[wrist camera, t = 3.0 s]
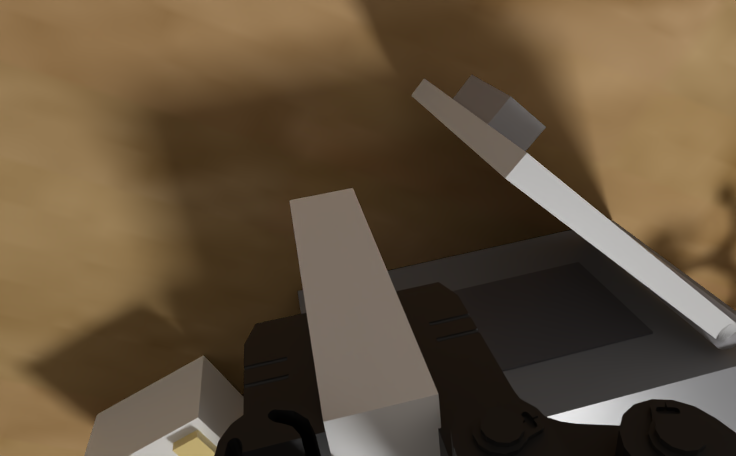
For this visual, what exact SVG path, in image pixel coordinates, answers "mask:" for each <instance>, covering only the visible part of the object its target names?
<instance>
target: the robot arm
mask: <svg viewBox="0 0 736 456" xmlns="http://www.w3.org/2000/svg"><path fill="white" fill-rule="evenodd" d="M289 201H290V208H291V214H292V221H293V227H294V234H295V240H296V247H297V253H298V260H299V266H300V273H301V280H302V286H303V293H304V299H305V306H306V312H307V313H303V314H298V315H294V316H289V317H285V318H280V319H276V320H271V321H267V322H262V323H257V324H255V326H254V328H253V330H252V332H251V333H250V335H249V337H248V339H247V341H246V342H245V344H244V369H245V371H244V403H243V415H242V416H241V417H240V418H238V419H237V420H236V421H234V422H233V423H232V424H231V425H230V426H229V427H228V429H227V430H226V431H225V433H224V434H223V436H222V437H221V438H220V440H219V441H218V445H217V448H216V451H215V455H214V456H736V433H735V432H734V431H733V430H731V429H730V428H729V427H727V426H726V425H725V424H723V423H722V422H721V421H719V420H718V419H716V418H715V417H713V416H711V415H709V414H708V413H706V412H704V411H702V410H701V409H699V408H697V407H695V406H692V405H689V404H685V403H682V402H678V401H675V400H663V399H650V400H647V401H643V402H640V403H637V404H634V405H633V406H632V407H631V408H630V409H628V410H627V411H626V412H625V413H624V414H623V416H622V420H621V424H620V425H596V424H576V423H568V422H561V421H558V420H555V419H552V418H549V417H546V416H544V415H543V414H542V413H541V412H540V411H539V410H538V408H536V407H534V406H533V405H531V404H529V403H527V402H525V401H524V400H522V399H520V398H519V397H518V395H517V394H516V393H515V391H514V390H513V388H512V387H511V385H510V383H509V381H508V380H507V378H506V376H505V375H504V373H503V371H502V369H501V368H500V366H499V364H498V363H497V361H496V359H495V357H494V356H493V354H492V352H491V351H490V349H489V347H488V346H487V344H486V342H485V340H484V339H483V337H482V335H481V334H480V333H479V332H478V328H477V327H476V325H475V323H474V322H473V320H472V318H471V317H469V313H468V311H467V310H466V308H465V306H464V305H463V303H462V301H461V299H460V298H459V296H458V295H457V294H455V293H454V292H453V291H451V290H450V289H448V288H447V287H445V286H444V285H442V284H441V283H439V282H436V283H432V284H427V285H422V286H418V287H413V288H409V289H404V290H400V291H395V288H394V286H393V283H392V281H391V279H390V276H389V274H388V271H387V269H386V267H385V264H384V262H383V259H382V257H381V255H380V252H379V250H378V247H377V245H376V243H375V240H374V238H373V235H372V233H371V230H370V228H369V226H368V223H367V221H366V218H365V216H364V214H363V211H362V209H361V206H360V204H359V202H358V199H357V197H356V194H355V192H354V190H353V188H350V189H345V190H340V191H335V192H329V193H324V194H319V195H314V196H309V197H304V198H299V199H294V200H289Z"/></svg>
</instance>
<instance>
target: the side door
mask: <svg viewBox="0 0 736 456" xmlns="http://www.w3.org/2000/svg"><path fill="white" fill-rule="evenodd" d="M411 96H412V97H413V98H415V99H416V100H417V101H418V102H419V103H420V104H421V105H422V106H424V107H425V108H426V109H427V110H428V111H429V112H430V113H432V114H433V115H434V116H435V117H436V118H437V119H438V120H439V121H441V122H442V123H443V124H444V125H445V126H446V127H447V128H449V129H450V130H451V131H452V132H453V133H454V134H455V135H456V136H458V137H459V138H460V139H461V140H462V141H463V142H464V143H466V144H467V145H468V146H469V147H470V148H471V149H472V150H474V151H475V152H476V153H477V154H478V155H479V156H480V157H481V158H483V159H484V160H485V161H486V162H487V163H488V164H489V165H491V166H492V167H493V168H494V169H495V170H496V171H497V172H498V173H500V174H501V175H502V176H503V177H504V178H505V179H507V180H508V181H509V182H511V183H512V184H513V185H514V186H516V187H517V188H518V189H520V190H521V191H522V192H524V193H525V194H526V195H528V196H529V197H530V198H532V199H533V200H534V201H535V202H537V203H538V204H539V205H541V206H542V207H543V208H545V209H546V210H547V211H549V212H550V213H551V214H553V215H554V216H555V217H556V218H558V219H559V220H560V221H562V222H563V223H564V224H566V225H567V226H568V227H570V228H571V229H572V230H574V231H575V232H576V233H577V234H579V235H580V236H581V237H583V238H584V239H585V240H587V241H588V242H589V243H591V244H592V245H593V246H595V247H596V248H597V249H598V250H600V251H601V252H602V253H604V254H605V255H606V256H608V257H609V258H610V259H612V260H613V261H614V262H616V263H617V264H618V265H619V266H621V267H622V268H623V269H625V270H626V271H627V272H628V273H629V274H631V275H632V276H633V277H634V278H635V279H637V280H638V281H639V282H640V283H641V284H643V285H644V286H645V287H646V288H647V289H648V290H650V291H651V292H652V293H653V294H654V295H656V296H657V297H658V298H659V299H660V300H661V301H663V302H664V303H665V304H666V305H667V306H669V307H670V308H671V309H672V310H673V311H675V312H676V313H677V314H678V315H679V316H680V317H682V318H683V319H684V320H685V321H686V322H688V323H689V324H690V325H691V326H692V327H693V328H695V329H696V330H697V331H698V332H699V333H701V334H702V335H703V336H704V337H705V338H706V339H708V340H709V341H710V342H711V343H712V344H714V345H715V346H716V347H717V348H719V349H721V350H726V349H730V348H732V347H734V346H736V315H735V314H733V313H732V312H731V311H729V310H728V309H727V308H725V307H724V306H723V305H721V304H720V303H719V302H717V301H716V300H715V299H713V298H712V297H711V296H709V295H708V294H707V293H705V292H704V291H703V290H701V289H700V288H699V287H697V286H696V285H694V284H693V283H692V282H690V281H689V280H688V279H686V278H685V277H684V276H682V275H681V274H680V273H678V272H677V271H676V270H674V269H673V268H672V267H670V266H669V265H668V264H666V263H665V262H664V261H662V260H661V259H660V258H658V257H657V256H656V255H654V254H653V253H652V252H650V251H649V250H648V249H646V248H645V247H644V246H642V245H641V244H640V243H638V242H637V241H636V240H634V239H633V238H632V237H630V236H629V235H628V234H626V233H625V232H624V231H622V230H621V229H620V228H619V227H617V226H616V225H615V224H614V223H613V222H611V221H610V220H609V219H608V218H606V217H605V216H604V215H603V214H602V213H600V212H599V211H598V210H597V209H595V208H594V207H593V206H592V205H590V204H589V203H588V202H587V201H586V200H584V199H583V198H582V197H581V196H579V195H578V194H577V193H576V192H574V191H573V190H572V189H571V188H570V187H568V186H567V185H566V184H565V183H563V182H562V181H561V180H560V179H559V178H557V177H556V176H555V175H554V174H552V173H551V172H550V171H549V170H547V169H546V168H545V167H544V166H543V165H541V164H540V163H539V162H538V161H536V160H535V159H534V158H533V157H532V156H530V155H529V154H528V153H527V152H525V151H526V150H527V149H528V148H529V147H530V145H531V144H532V143H533V142H534V141H535V140H536V138H537V137H538V136H539V135H540V134H541V132H542V131H543V130H544V129H545V128H546V127H545V126H544V125H543V124H542V123H541V122H540V121H538V120H537V119H536V118H535V117H534V116H533V115H532V114H530V113H529V112H528V111H527V110H526V109H525V108H523V107H522V106H521V105H520V104H519V103H518V102H517V101H515V100H514V99H513V98H512V97H511V96H509V95H507V94H505V93H504V92H502V91H500V90H498V89H496V88H495V87H493V86H491V85H489V84H488V83H486V82H484V81H482V80H480V79H479V78H477V77H475V76H473V75H471V76H470V77H469V78H468V80H467V81H466V82H465V84H464V85H463V86H462V87H461V89H460V90H459V91H458V93H457V94H456V95H455V96H454V98H453V99H452V98H451V97H449V96H448V95H447V94H445V93H444V92H442V91H441V90H440V89H438V88H437V87H435V86H434V85H433V84H431V83H430V82H429V81H427V80H426V79H423V80H422V82H421V83H420V84H419V86H418V87H417V88H416V90H415V91H414V92H413V94H412V95H411Z"/></svg>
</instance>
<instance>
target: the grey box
mask: <svg viewBox="0 0 736 456" xmlns="http://www.w3.org/2000/svg"><path fill="white" fill-rule="evenodd" d="M611 222H613V223H614V224H615V225H616V226H617V227H619V228H620V229H621V230H622V231H624V232H625V233H626V234H628V235H629V236H630V237H632V238H633V239H634V240H636V241H637V242H638V243H640V244H641V245H642V246H644V247H645V248H646V249H648V250H649V251H650V252H652V253H653V254H654V255H656V256H657V257H658V258H660V259H661V260H662V261H664V262H665V263H666V264H668V265H669V266H670V267H672V268H673V269H674V270H676V271H677V272H678V273H680V274H681V275H682V276H684V277H685V278H686V279H688V280H689V281H690V282H692V283H693V284H694V285H696V286H697V287H699V288H700V289H701V290H703V291H704V292H705V293H707V294H708V295H709V296H711V297H712V298H713V299H715V300H716V301H717V302H719V303H720V304H721V305H723V306H724V307H725V308H727V309H728V310H729V311H731V312H732V313H733V314H735V315H736V311H735V310H733V309H732V308H731V307H729V306H728V305H727V304H725V303H724V302H723V301H721V300H720V299H718V298H717V297H716V296H714V295H713V294H712V293H710V292H709V291H708V290H706V289H705V288H704V287H702V286H701V285H700V284H698V283H697V282H695V281H694V280H693V279H691V278H690V277H689V276H687V275H686V274H685V273H683V272H682V271H681V270H679V269H678V268H677V267H675V266H674V265H672V264H671V263H670V262H668V261H667V260H666V259H664V258H663V257H662V256H660V255H659V254H658V253H656V252H655V251H654V250H652V249H651V248H649V247H648V246H647V245H645V244H644V243H643V242H641V241H640V240H639V239H637V238H636V237H635V236H633V235H632V234H631V233H629V232H628V231H626V230H625V229H624V228H622V227H621V226H620V225H618V224H617V223H616V222H614V221H611ZM388 274H389V276H390V279H391V281H392V283H393V286H394V288H395V291H400V290H404V289H409V288H413V287H418V286H422V285H427V284H432V283H436V282H439V283H441V284H442V285H444V286H445V287H447V288H448V289H450V290H451V291H453V292H454V293H455V294H457V295H458V296H459V298H460V299H461V301H462V303H463V305H464V306H465V308H466V310H467V311H468V313H469V317H471V318H472V320H473V322H474V323H475V325H476V327H477V328H478V332H479V333H480V334H481V335H482V337H483V339H484V340H485V342H486V344H487V346H488V347H489V349H490V351H491V352H492V354H493V356H494V357H495V359H496V361H497V363H498V364H499V366H500V368H501V369H502V371H503V373H504V375H505V376H506V378H507V380H508V381H509V383H510V385H511V387H512V388H513V390H514V391H515V393H516V394H517V395H518V397H519V398H520V399H522V400H524V401H525V402H527V403H529V404H531V405H533V406H534V407H536V408H538V410H539V411H540V412H541V413H542V414H543V415H544V416H546V417H549V418H552V419H555V420H558V421H561V422H568V423H576V424H596V425H620V424H621V420H622V416H623V414H624V413H625V412H626V411H627V410H628V409H630V408H631V407H632V406H633V405H634V404H637V403H640V402H643V401H647V400H650V399H663V400H675V401H678V402H682V403H685V404H689V405H692V406H695V407H697V408H699V409H701V410H702V411H704V412H706V413H708V414H709V415H711V416H713V417H715V418H716V419H718V420H719V421H721V422H722V423H723V424H725V425H726V426H727V427H729V428H730V429H731V430H733V431H734V432H735V433H736V346H734V347H732V348H730V349H726V350H721V349H719V348H717V347H716V346H715V345H714V344H712V343H711V342H710V341H709V340H708V339H706V338H705V337H704V336H703V335H702V334H701V333H699V332H698V331H697V330H696V329H695V328H693V327H692V326H691V325H690V324H689V323H688V322H686V321H685V320H684V319H683V318H682V317H680V316H679V315H678V314H677V313H676V312H675V311H673V310H672V309H671V308H670V307H669V306H667V305H666V304H665V303H664V302H663V301H661V300H660V299H659V298H658V297H657V296H656V295H654V294H653V293H652V292H651V291H650V290H648V289H647V288H646V287H645V286H644V285H643V284H641V283H640V282H639V281H638V280H637V279H635V278H634V277H633V276H632V275H631V274H629V273H628V272H627V271H626V270H625V269H623V268H622V267H621V266H619V265H618V264H617V263H616V262H614V261H613V260H612V259H610V258H609V257H608V256H606V255H605V254H604V253H602V252H601V251H600V250H598V249H597V248H596V247H595V246H593V245H592V244H591V243H589V242H588V241H587V240H585V239H584V238H583V237H581V236H580V235H579V234H577V233H576V232H575V231H574V230H568V231H564V232H559V233H555V234H550V235H546V236H542V237H537V238H533V239H528V240H524V241H519V242H515V243H510V244H506V245H501V246H497V247H492V248H488V249H483V250H479V251H474V252H470V253H465V254H461V255H457V256H452V257H448V258H443V259H439V260H434V261H430V262H425V263H421V264H416V265H412V266H407V267H403V268H398V269H394V270H389V271H388ZM298 297H299V304H300V310H301V314H303V313H307V312H306V306H305V299H304V293H303V290H300V291H298Z"/></svg>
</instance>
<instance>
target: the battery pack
mask: <svg viewBox="0 0 736 456" xmlns="http://www.w3.org/2000/svg"><path fill="white" fill-rule="evenodd" d="M243 403H244V397H243V396H242V395H241V394H240V393H239V392H238V391H237V390H236V389H235V388H234V387H233V386H232V384H231V383H230V382H229V381H228V380H227V379H226V378H225V377H224V376H223V375H222V374H221V373H220V372H219V371H218V370H217V369H216V368H215V367H214V366H213V365H212V364H211V362H210V361H209V360H208V359H207V358H206V357H205V356H204V355H203V356H201V357H199V358H198V359H196V360H194V361H192V362H190V363H189V364H187V365H185V366H183V367H181V368H180V369H178V370H176V371H174V372H172V373H171V374H169V375H167V376H165V377H163V378H162V379H160V380H158V381H156V382H154V383H153V384H151V385H149V386H147V387H145V388H144V389H142V390H140V391H138V392H136V393H135V394H133V395H131V396H129V397H127V398H126V399H124V400H122V401H120V402H118V403H117V404H115V405H113V406H111V407H109V408H108V409H106V410H104V411H102V412H100V413H99V414H97V416H96V419H95V422H94V426H93V429H92V432H91V436H90V439H89V442H88V445H87V449H86V452H85V455H84V456H214V455H215V451H216V448H217V445H218V441H219V440H220V438H221V437H222V436H223V434H224V433H225V431H226V430H227V429H228V427H229V426H230V425H231V424H232V423H233V422H234V421H236V420H237V419H238V418H240V417H241V416H242V415H243Z"/></svg>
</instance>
